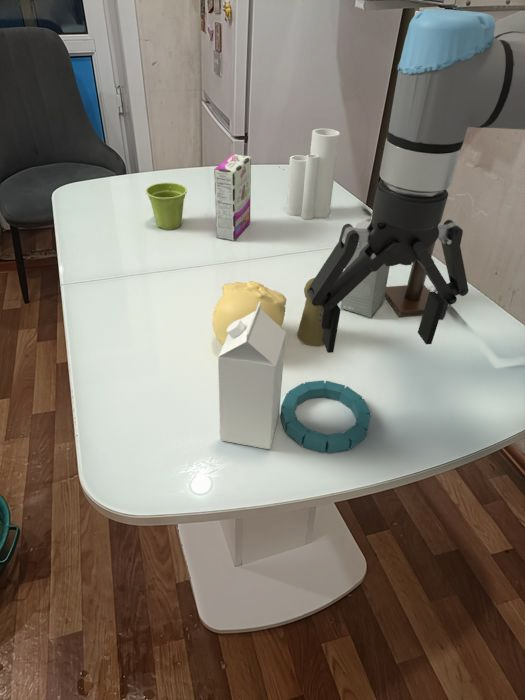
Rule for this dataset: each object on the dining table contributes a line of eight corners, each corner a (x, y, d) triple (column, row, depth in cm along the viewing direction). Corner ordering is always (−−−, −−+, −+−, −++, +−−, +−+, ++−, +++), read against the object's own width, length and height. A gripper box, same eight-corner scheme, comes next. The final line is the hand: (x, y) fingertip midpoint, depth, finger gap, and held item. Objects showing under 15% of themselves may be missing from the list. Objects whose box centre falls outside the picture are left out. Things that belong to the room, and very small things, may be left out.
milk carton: (279, 414, 75) (288, 305, 63) (270, 450, 69) (277, 339, 57) (232, 406, 76) (232, 297, 64) (219, 441, 70) (216, 329, 58)
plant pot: (191, 231, 122) (189, 196, 116) (151, 234, 120) (147, 198, 114) (186, 215, 129) (184, 181, 123) (148, 218, 127) (144, 183, 121)
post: (422, 289, 105) (441, 219, 95) (442, 313, 98) (465, 240, 88) (381, 292, 103) (396, 221, 94) (398, 317, 96) (416, 243, 87)
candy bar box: (231, 220, 128) (232, 152, 118) (250, 223, 126) (252, 155, 116) (214, 238, 119) (213, 167, 109) (234, 242, 118) (235, 171, 108)
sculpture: (290, 332, 91) (295, 279, 84) (263, 371, 82) (266, 315, 76) (233, 315, 94) (233, 263, 88) (201, 351, 86) (198, 296, 79)
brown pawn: (325, 324, 93) (332, 271, 86) (335, 344, 89) (344, 289, 82) (293, 327, 92) (298, 273, 85) (302, 347, 88) (308, 292, 81)
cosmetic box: (370, 319, 95) (386, 241, 85) (335, 307, 98) (347, 231, 88) (385, 298, 101) (402, 223, 91) (352, 288, 104) (364, 214, 94)
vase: (323, 206, 137) (333, 127, 124) (334, 217, 131) (344, 136, 119) (283, 209, 134) (289, 129, 122) (292, 221, 129) (299, 138, 116)
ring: (351, 385, 80) (353, 377, 79) (381, 446, 71) (383, 437, 70) (273, 394, 78) (274, 385, 77) (292, 457, 68) (293, 448, 67)
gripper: (499, 169, 59) (449, 319, 73) (291, 173, 55) (278, 332, 68) (538, 194, 54) (476, 352, 67) (310, 200, 49) (291, 368, 62)
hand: (376, 342), depth 68 cm, fingers open, 13 cm apart
